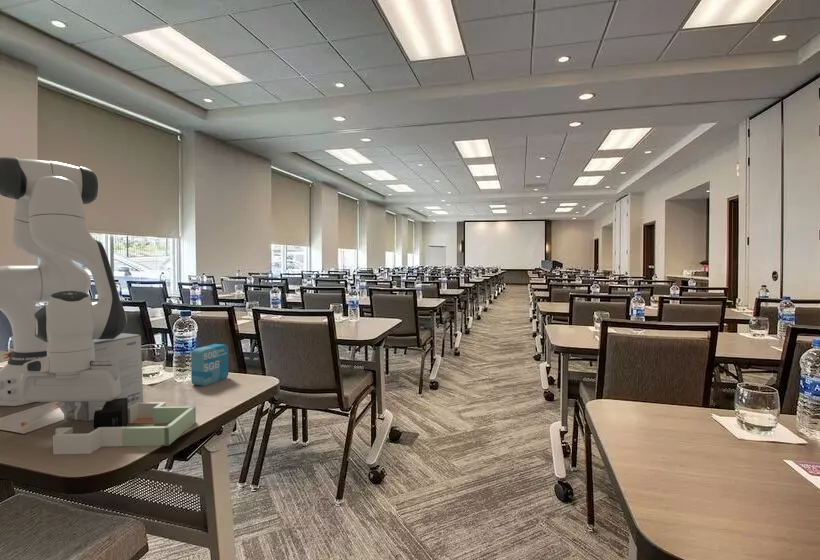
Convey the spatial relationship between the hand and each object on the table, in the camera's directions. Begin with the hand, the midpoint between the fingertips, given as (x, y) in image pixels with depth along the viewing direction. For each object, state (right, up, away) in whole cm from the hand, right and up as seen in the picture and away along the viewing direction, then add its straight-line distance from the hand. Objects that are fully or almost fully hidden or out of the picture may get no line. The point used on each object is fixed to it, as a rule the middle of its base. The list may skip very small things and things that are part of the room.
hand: (73, 419), depth 100 cm
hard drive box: (-3, -3, +16) cm, 17 cm away
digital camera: (+8, -4, +1) cm, 9 cm away
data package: (+12, -2, +44) cm, 46 cm away
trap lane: (+13, -4, +1) cm, 13 cm away
